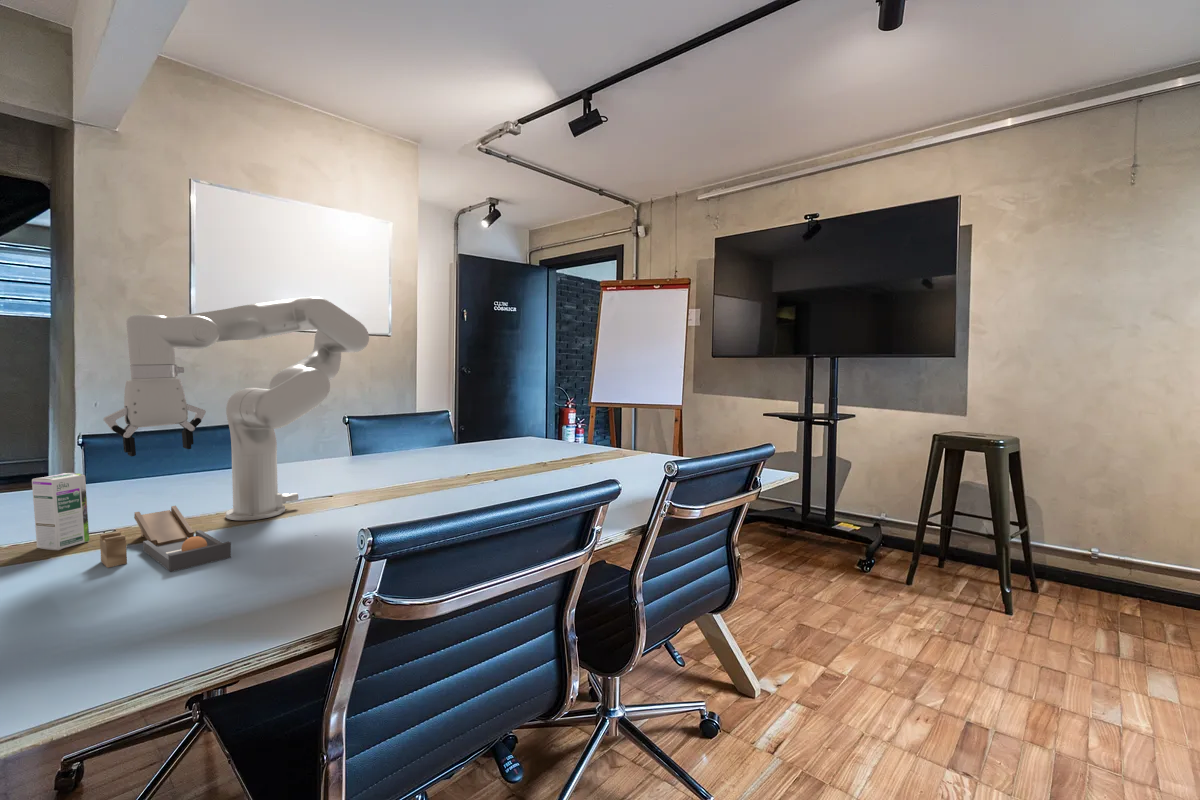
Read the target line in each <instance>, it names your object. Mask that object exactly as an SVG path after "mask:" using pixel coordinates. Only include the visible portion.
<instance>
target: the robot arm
mask: <svg viewBox="0 0 1200 800" xmlns="http://www.w3.org/2000/svg"><path fill="white" fill-rule="evenodd" d="M313 330H314V331H315V330H316V332H315V335H314V344H313V349H312V351H311V352H310V354H309V355H307V356H306V357H304V358H302V359H301V360H299V361H296V362H295V363H293V364H291V365H289V366H288V367H285V368H284V369H282V370H280V371H278V372H277V373H276V374H275V375H273V377H272V378H271V380H270V381H269V385H268V386H269V387H268V388H269V389H267V388H261V387H260V388H259V387H246V388H242V389H239V390H237V391H235V392H234V393H232V395H230V397H229V398H228V400H227V403H226V407H225V409H226V410H225V411H226V412H225V413H226V418H227V423H228V427H229V432H230V442H231V443H230V444H231V447H230V448H231V449H230V450H231V476H232V477H231V478H232V482H231V483H232V484H231V485H232V506H233V507H232V508H230V509H228V510H227V511H226V512H225V518H226V519H227V520H230V521H231V520H232V521H255V520H263V519H267V518H273V517H276V516H279V515H282V514H283V513H284V512H285V511H286V505H285V504H286V502H294V501H298V500H299V493H297V492H293V493H290V494H289V493H281V492H278V491H279V489H278V485H279V483H278V454H277V453H278V452H277V451H278V446H277V445H278V443H277V435H276V432H275V430H277V429H282V428H284V427H286V426H288V425H290V424H292V423H293V422H295V421H296V420H298V419H299V418H301V417H303V416H304V415H306V414H308V413H309V412H310V411H312V410H313V409H315V408H317V407H318V406H320V405H321V404H322V403H323V402H324V401H325V400H326V399H327V398H328V396H329V393H330V390H331V382H330V381H331V380H333V379H334V378H335V377H336V376H337V375H338V373H339V372H340V368H341V363H342V362H341V361H342V353H358V352H361V351H364V349H365V348H366V347H367V346H368V345H369V341H370V334H369V331H368V329H367V328H366V327H365V325H364V324H363V323H362V322H361V321H360V320H358V319H356V318H355V317H353V316H352V315H350V314H349V313H347V312H346V311H345V310H343V309H342V308H340V307H338V306H337V305H336V304H334V303H333V302H331V301H329V300H328V299H325V298H323V297H320V296H309V297H306V296H305V297H295V298H288V299H279V300H272V301H266V302H257V303H250V304H245V305H243V304H242V305H237V306H233V307H229V308H223V309H217V310H211V311H209V310H208V311H201V312H196V313H189V314H182V315H180V314H179V315H176V316H165V315H161V314H132V315H129V316H128V317H127V318H126V332H127V333H126V334H127V335H126V336H127V345H128V358H129V366H130V370H129V371H130V379H128V380H125V386H124V395H123V406H124V407H122V408H121V409H119V410H117V411H114V412H112V413H111V414H108V415H106V416H104V417H103V419H102V420H103V422H104V423H105V424H106V425H107V427H108V428H109V429H110V430H111V431H112V432H115V433H116V434H118V435H119V436H120V437H122V445H123V452H124V453H127V456H129V457H136V456H137V453H136V452H137V451H136V442H135V440H136V439H135V437H134V436H133V434H134V433H135V432H136V431H137V430H138V429H139V428H150V427H159V426H172V425H179V426H181V427H182V428H183V429H182V431H181V437H182V438H181V441H182V448H183V449H187V450H191V449H192V445H194V431H195V430H196V428H197V426H199V425H200V424H201V423H202V420H203V418H204V416H205V415H206V409H203V408H200V407H197V406H194V405H191V404H188V403H187V398H186V394H185V391H184V386H183V383H182V380H181V378H178V375H179V374H184V373H185V369H184V366H178V364H176V353H175V349H177V350H205V349H207V348H210V347H212V346H213V345H215V344H216V343H219V342H228V341H253V340H259V339H267V338H270V337H271V338H272V337H277V336H279V335H280V336H282V335H285V334H291V333H297V332H302V331H313ZM188 412H192V413H194V414H195V415H194V418H193V419H191V421H190V422H189V421H188V419H189V413H188ZM123 417H124V422H125V424H126V425H125V426H124V428H122V427H121V426H119V425H118V423H117V422H116V421H117V420H119V419H121V418H123Z"/></svg>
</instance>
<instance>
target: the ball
mask: <svg viewBox="0 0 1200 800" xmlns="http://www.w3.org/2000/svg"><path fill="white" fill-rule="evenodd" d="M206 546H207V542H206V540H205V539H204V538H202V537H199V536H196V535H195V536H194V537H190V538H188V539H187V540H185V541H184V543H183V544H182V548H181V549H182V552H183V551H188V550H192V549H197V548H201V547H206Z"/></svg>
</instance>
